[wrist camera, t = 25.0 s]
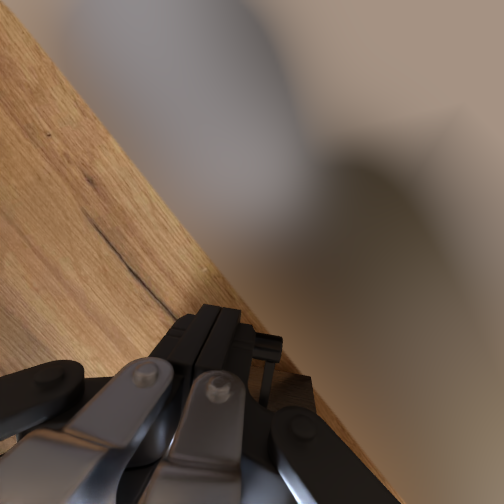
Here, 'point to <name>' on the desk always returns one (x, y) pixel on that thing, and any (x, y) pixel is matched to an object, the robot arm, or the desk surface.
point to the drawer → (276, 379)
